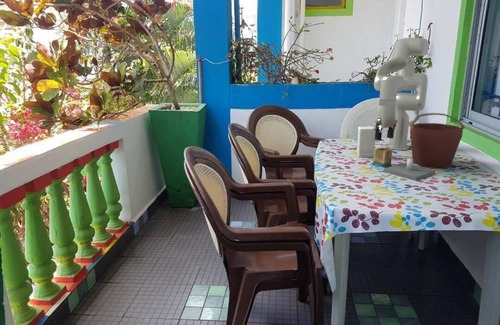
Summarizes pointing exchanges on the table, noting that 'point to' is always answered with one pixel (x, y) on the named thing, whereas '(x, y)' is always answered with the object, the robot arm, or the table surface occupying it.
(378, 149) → the wooden sleeve
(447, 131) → the bucket
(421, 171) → the pin board
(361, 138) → the skincare box
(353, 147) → the table surface
